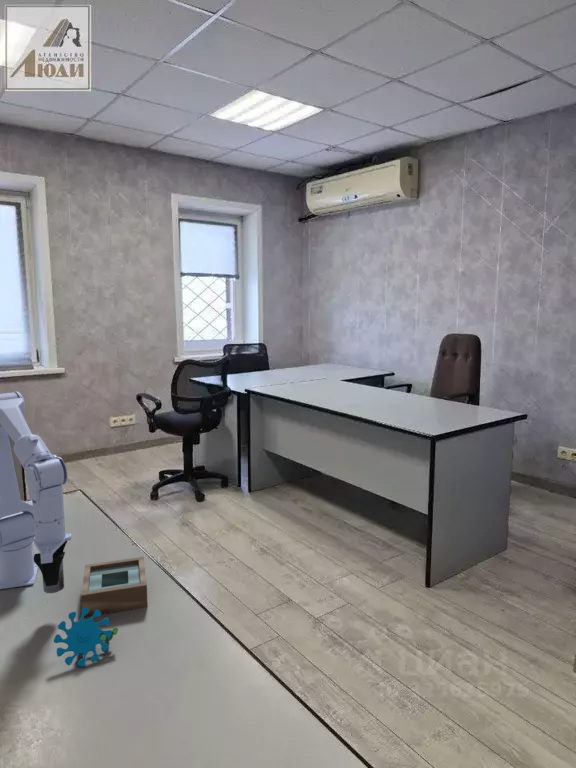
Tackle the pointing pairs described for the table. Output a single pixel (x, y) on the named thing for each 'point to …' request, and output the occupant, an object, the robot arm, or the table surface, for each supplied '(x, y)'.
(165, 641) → the table surface
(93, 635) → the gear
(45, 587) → the peg
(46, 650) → the table surface
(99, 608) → the bore box
